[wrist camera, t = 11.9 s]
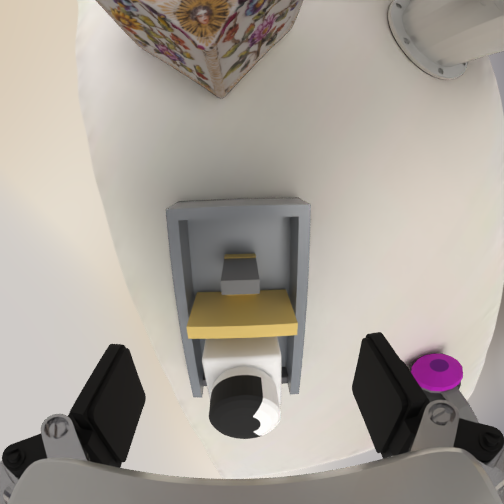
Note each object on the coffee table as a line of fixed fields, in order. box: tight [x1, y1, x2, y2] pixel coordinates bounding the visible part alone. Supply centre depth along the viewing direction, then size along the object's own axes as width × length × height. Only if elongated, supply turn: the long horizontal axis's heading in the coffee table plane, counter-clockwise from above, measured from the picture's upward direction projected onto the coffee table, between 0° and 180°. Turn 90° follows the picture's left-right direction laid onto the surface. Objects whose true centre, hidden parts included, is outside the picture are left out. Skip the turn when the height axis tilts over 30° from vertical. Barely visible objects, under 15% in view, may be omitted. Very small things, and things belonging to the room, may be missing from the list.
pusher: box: [187, 253, 298, 339], centre depth 26 cm, size 5×9×7 cm, turn 91°
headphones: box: [411, 354, 478, 423], centre depth 29 cm, size 21×9×20 cm, turn 7°
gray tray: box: [166, 198, 311, 397], centre depth 29 cm, size 21×12×5 cm, turn 1°
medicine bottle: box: [202, 336, 281, 439], centre depth 26 cm, size 7×7×12 cm
